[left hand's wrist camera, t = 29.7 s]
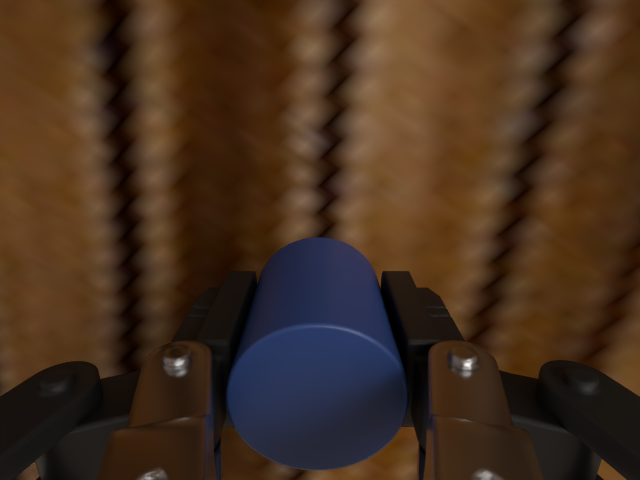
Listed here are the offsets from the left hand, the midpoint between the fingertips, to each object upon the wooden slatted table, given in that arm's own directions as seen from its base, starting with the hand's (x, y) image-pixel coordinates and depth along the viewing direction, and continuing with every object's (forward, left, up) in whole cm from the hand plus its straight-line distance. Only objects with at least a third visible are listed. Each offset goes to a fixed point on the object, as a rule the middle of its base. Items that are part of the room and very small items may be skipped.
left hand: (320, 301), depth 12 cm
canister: (0, 0, -1) cm, 1 cm away
